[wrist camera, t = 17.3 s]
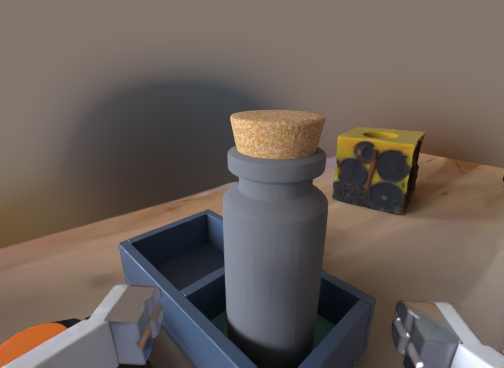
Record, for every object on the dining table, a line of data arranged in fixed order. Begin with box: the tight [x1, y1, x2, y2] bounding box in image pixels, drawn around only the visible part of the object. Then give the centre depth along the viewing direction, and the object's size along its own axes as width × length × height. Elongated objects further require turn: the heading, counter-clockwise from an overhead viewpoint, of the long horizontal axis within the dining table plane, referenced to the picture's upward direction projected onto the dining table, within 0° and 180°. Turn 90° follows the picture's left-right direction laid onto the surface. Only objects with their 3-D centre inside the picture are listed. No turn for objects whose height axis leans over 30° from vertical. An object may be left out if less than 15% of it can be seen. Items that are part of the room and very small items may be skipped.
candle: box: [332, 127, 425, 215], centre depth 43 cm, size 10×10×10 cm
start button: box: [0, 323, 67, 368], centre depth 15 cm, size 4×4×2 cm
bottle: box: [223, 110, 328, 368], centre depth 17 cm, size 6×6×15 cm
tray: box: [118, 209, 377, 368], centre depth 22 cm, size 10×18×4 cm, turn 44°
